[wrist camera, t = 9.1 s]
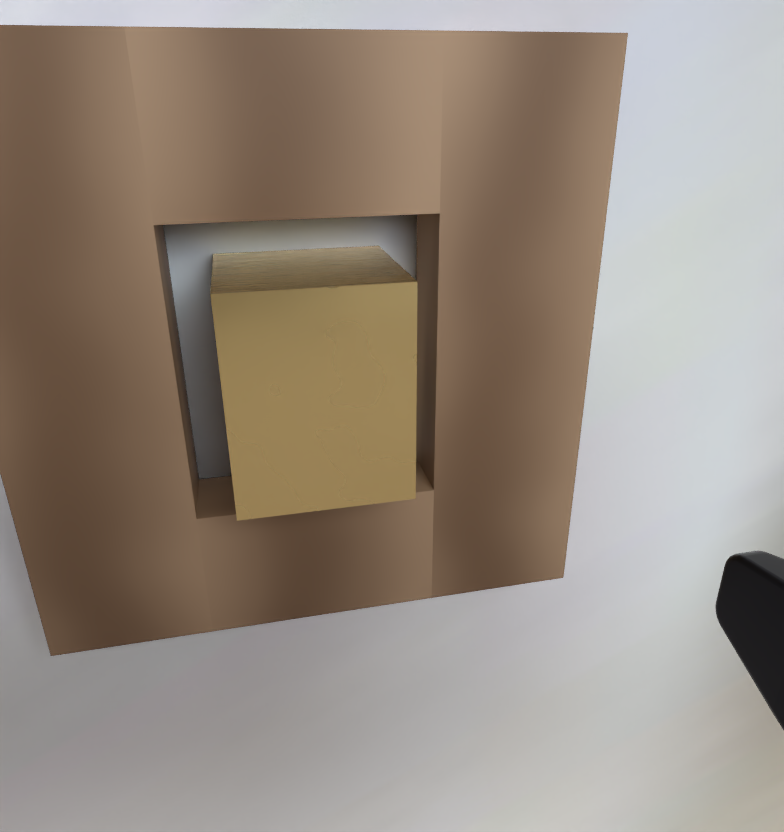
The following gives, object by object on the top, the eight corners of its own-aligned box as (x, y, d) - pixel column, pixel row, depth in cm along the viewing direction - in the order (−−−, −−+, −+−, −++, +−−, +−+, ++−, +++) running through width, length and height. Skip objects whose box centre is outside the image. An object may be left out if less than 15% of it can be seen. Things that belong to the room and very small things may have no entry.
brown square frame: (583, 40, 16) (628, 33, 14) (535, 538, 22) (563, 577, 20) (-79, 33, 13) (-125, 23, 12) (66, 605, 19) (51, 656, 18)
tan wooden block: (377, 244, 17) (417, 281, 14) (380, 426, 19) (415, 498, 16) (212, 253, 16) (210, 294, 13) (234, 440, 19) (236, 521, 15)
